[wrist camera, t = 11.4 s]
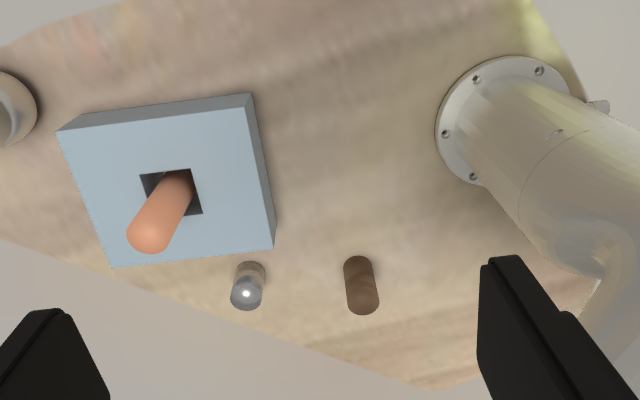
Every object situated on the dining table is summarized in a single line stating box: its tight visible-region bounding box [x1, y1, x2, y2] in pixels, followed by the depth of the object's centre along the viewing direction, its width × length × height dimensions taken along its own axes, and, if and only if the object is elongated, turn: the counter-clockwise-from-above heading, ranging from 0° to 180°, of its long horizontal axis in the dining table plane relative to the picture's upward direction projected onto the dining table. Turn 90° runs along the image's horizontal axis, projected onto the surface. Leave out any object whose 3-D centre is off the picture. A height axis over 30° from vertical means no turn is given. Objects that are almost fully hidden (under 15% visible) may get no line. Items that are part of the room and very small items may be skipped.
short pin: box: [230, 261, 265, 311], centre depth 48 cm, size 3×3×4 cm
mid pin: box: [343, 256, 379, 315], centre depth 48 cm, size 3×3×6 cm
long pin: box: [126, 168, 197, 255], centre depth 39 cm, size 3×3×12 cm
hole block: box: [55, 92, 277, 268], centre depth 42 cm, size 16×14×5 cm
